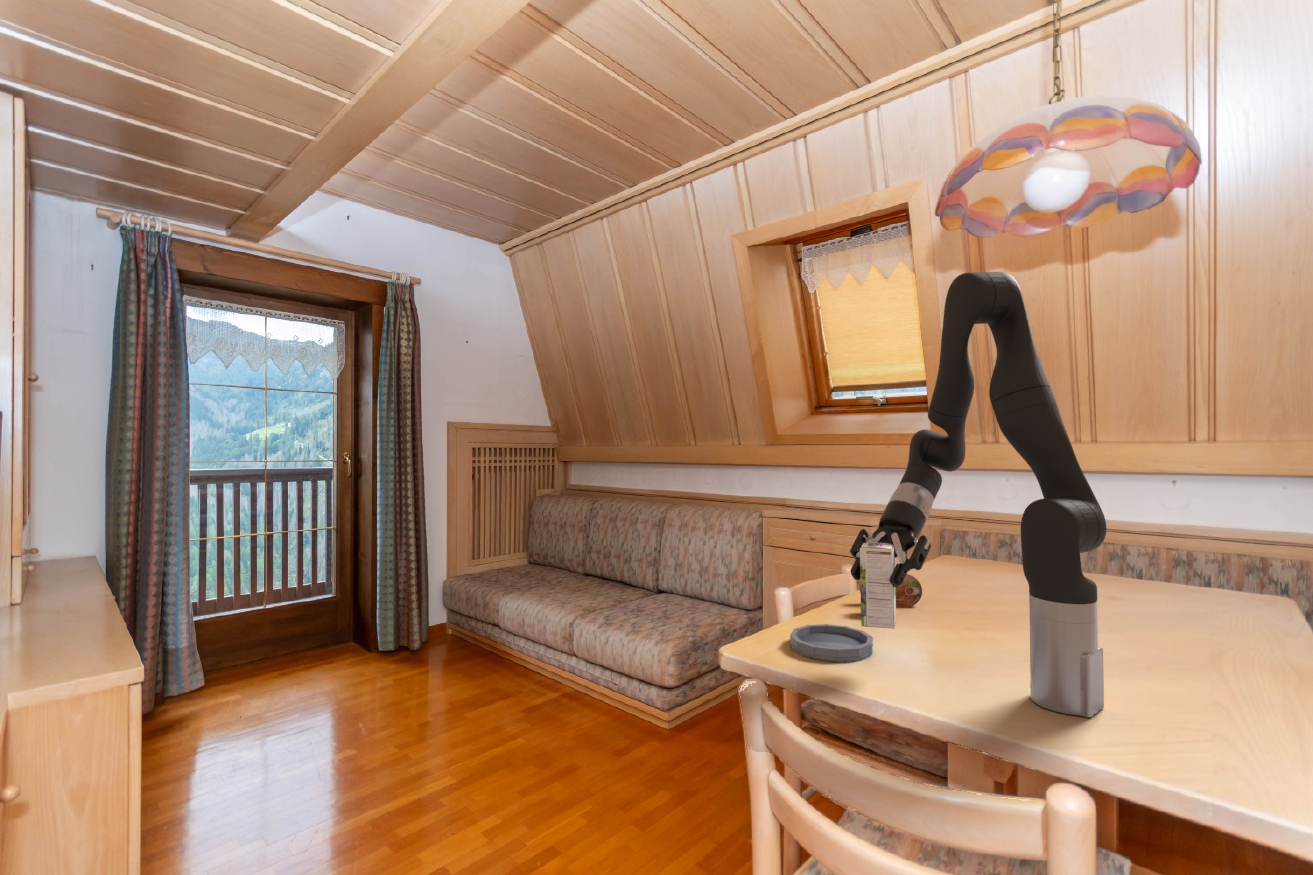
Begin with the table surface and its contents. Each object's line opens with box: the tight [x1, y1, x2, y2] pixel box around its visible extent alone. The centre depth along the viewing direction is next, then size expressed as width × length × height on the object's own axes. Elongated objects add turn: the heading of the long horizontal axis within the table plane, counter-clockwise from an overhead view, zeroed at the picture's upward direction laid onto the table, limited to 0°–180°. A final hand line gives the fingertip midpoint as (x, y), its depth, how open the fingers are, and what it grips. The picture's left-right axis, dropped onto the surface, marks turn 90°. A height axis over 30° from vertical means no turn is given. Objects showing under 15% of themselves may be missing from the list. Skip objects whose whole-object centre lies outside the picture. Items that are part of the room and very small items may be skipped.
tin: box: [859, 573, 923, 608], centre depth 159 cm, size 15×3×8 cm, turn 81°
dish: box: [789, 623, 874, 663], centre depth 128 cm, size 16×16×2 cm
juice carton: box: [859, 542, 897, 629], centre depth 114 cm, size 6×6×14 cm
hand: (873, 580), depth 113 cm, fingers closed on juice carton, 7 cm apart
